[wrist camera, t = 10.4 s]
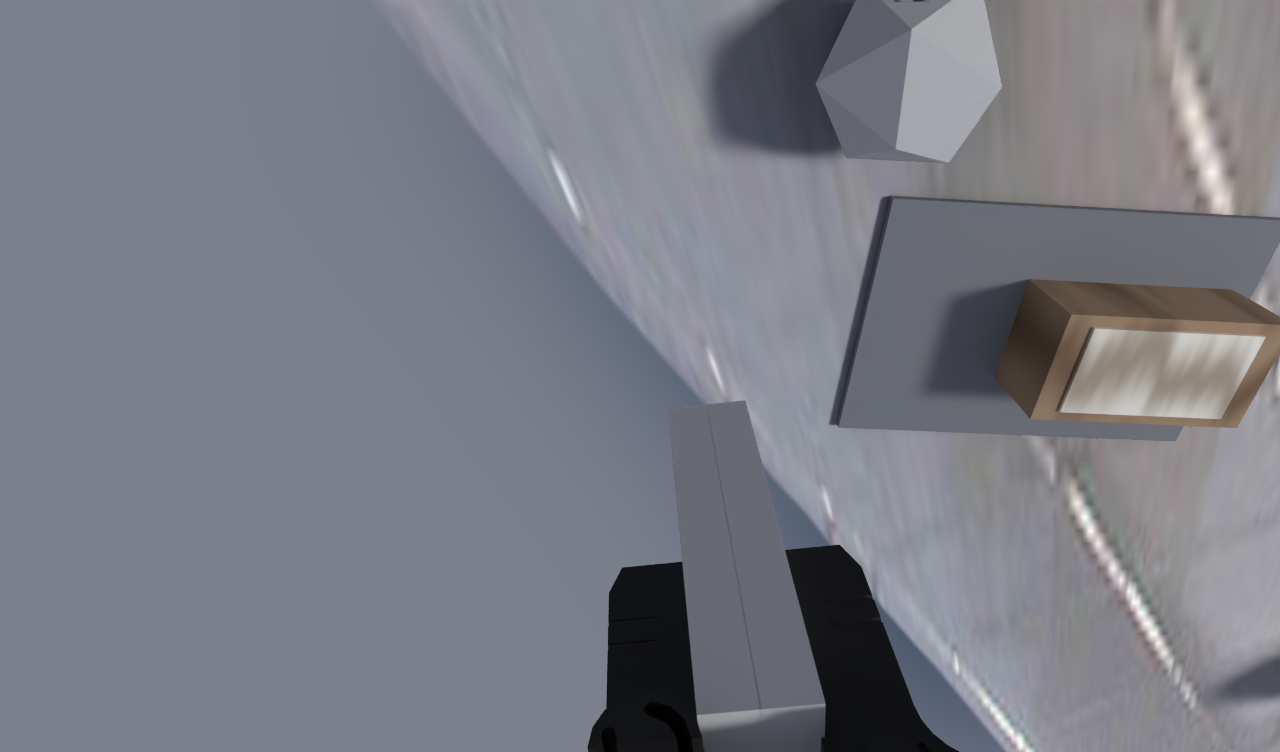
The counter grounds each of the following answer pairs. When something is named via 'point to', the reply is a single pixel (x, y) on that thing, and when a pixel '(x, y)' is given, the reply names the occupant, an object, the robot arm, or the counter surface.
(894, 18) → the die
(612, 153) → the counter surface
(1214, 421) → the label block
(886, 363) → the mat
